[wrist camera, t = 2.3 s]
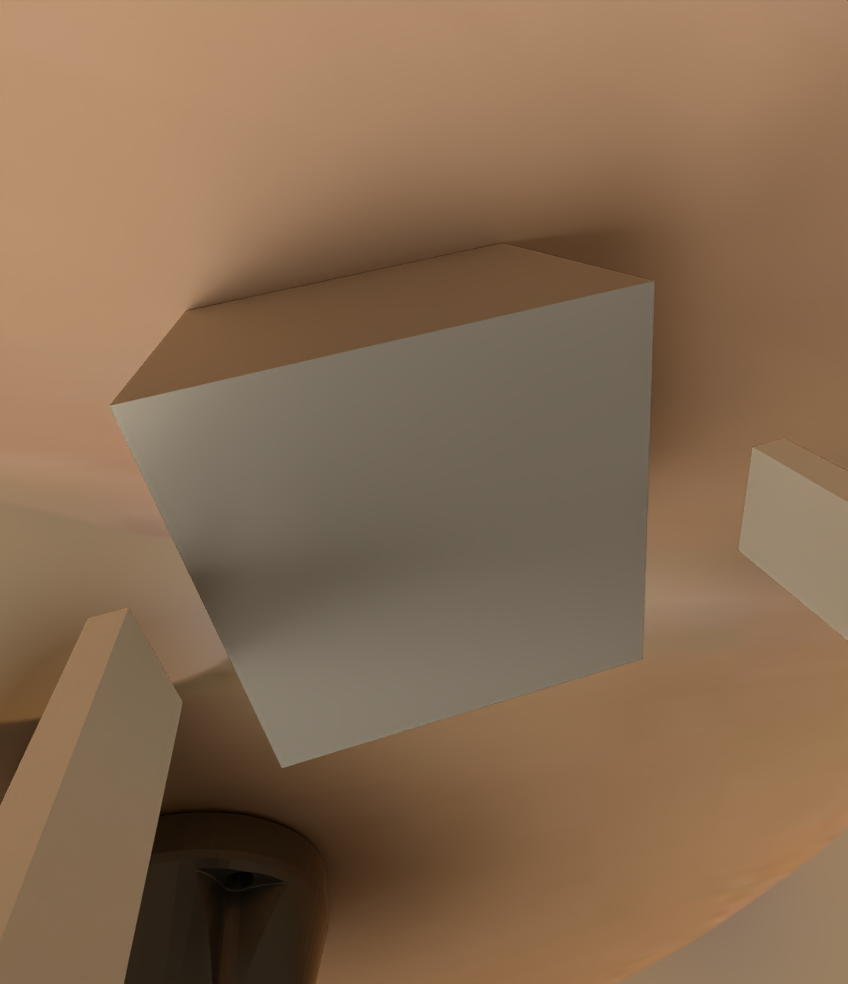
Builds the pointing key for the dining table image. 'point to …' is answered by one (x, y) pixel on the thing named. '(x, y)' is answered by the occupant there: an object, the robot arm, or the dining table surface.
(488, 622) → the matte grey cube
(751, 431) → the dining table surface
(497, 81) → the dining table surface
